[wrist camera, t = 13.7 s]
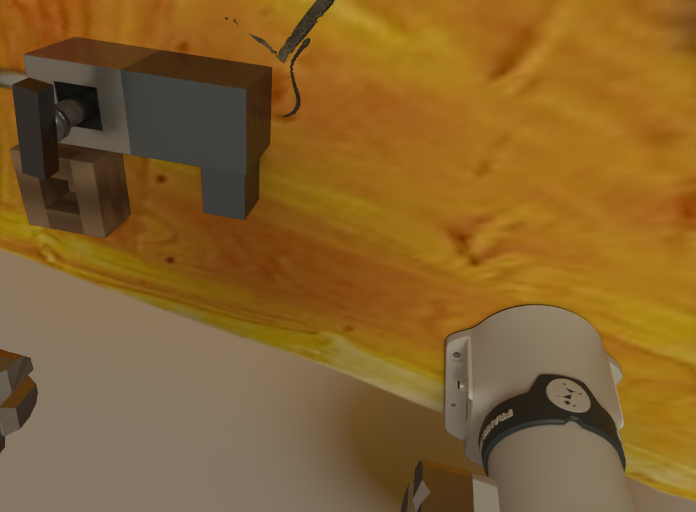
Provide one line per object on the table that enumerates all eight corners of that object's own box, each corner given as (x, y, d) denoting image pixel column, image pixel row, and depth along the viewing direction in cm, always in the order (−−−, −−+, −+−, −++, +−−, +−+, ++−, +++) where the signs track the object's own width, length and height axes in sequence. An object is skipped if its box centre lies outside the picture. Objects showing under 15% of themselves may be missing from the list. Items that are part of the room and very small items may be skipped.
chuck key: (123, 56, 46) (44, 94, 37) (123, 131, 50) (51, 182, 41) (92, 46, 45) (5, 82, 37) (94, 122, 49) (16, 171, 41)
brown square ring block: (130, 214, 57) (105, 238, 53) (59, 201, 57) (29, 224, 53) (120, 143, 52) (92, 163, 48) (44, 130, 53) (9, 149, 49)
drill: (272, 67, 46) (246, 89, 40) (268, 200, 53) (246, 235, 47) (1, 25, 48) (-61, 41, 42) (33, 159, 55) (-17, 189, 49)
